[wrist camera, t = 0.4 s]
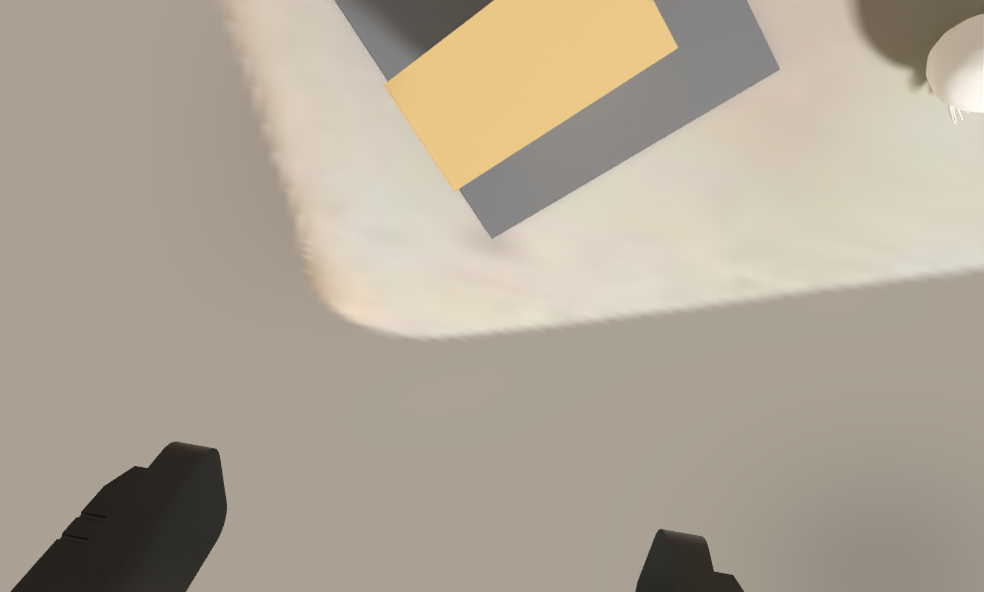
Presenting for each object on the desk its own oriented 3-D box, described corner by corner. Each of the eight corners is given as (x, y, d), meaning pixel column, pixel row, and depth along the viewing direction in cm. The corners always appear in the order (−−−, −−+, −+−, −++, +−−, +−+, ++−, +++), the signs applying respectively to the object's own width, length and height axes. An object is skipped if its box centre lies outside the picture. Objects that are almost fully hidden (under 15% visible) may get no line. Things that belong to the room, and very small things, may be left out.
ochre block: (613, -39, 27) (607, -88, 16) (656, 42, 28) (678, 47, 17) (470, 66, 30) (383, 84, 19) (513, 136, 31) (454, 191, 20)
